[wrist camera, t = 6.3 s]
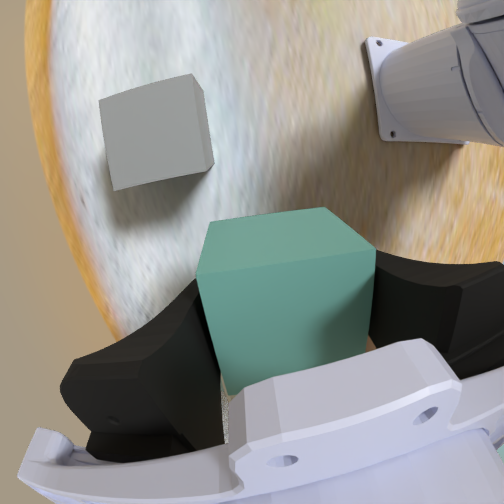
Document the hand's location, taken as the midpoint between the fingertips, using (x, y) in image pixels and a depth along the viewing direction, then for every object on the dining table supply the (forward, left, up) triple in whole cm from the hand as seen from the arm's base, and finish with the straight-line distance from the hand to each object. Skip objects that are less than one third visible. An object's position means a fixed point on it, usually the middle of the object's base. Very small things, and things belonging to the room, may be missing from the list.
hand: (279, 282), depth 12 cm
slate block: (+5, -7, -8) cm, 12 cm away
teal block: (0, 0, -2) cm, 2 cm away
